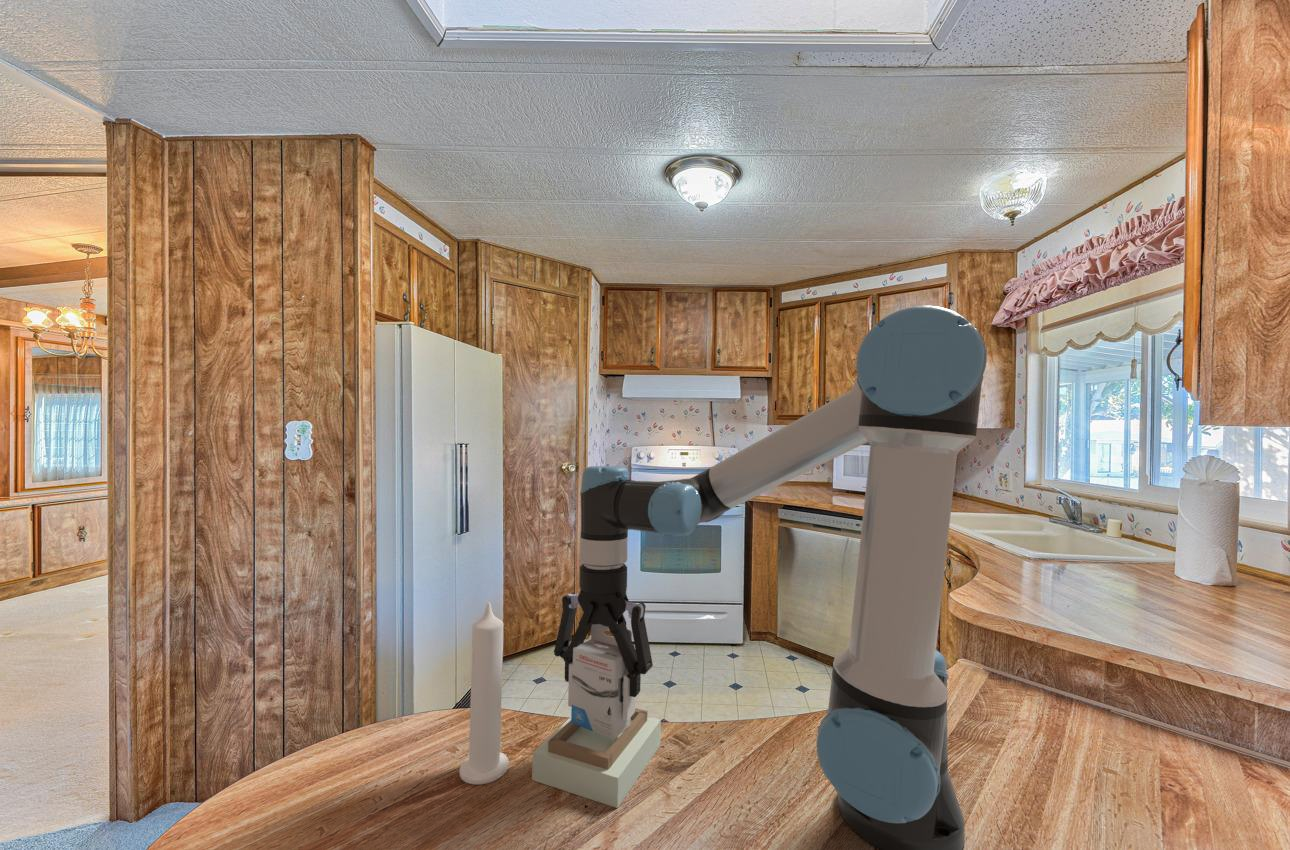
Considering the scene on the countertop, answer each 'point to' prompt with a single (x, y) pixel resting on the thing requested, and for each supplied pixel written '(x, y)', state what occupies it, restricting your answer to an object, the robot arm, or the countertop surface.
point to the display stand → (597, 759)
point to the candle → (485, 703)
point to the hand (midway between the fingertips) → (601, 709)
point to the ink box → (599, 684)
